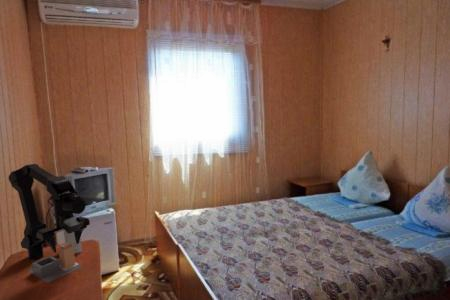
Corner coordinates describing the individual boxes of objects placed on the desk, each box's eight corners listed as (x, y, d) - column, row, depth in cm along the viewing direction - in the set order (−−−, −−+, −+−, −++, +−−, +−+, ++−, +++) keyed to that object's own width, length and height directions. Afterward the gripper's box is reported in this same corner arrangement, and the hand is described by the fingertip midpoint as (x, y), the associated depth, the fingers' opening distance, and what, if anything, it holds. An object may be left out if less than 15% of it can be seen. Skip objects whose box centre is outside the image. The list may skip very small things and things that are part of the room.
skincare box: (82, 253, 137) (79, 221, 136) (67, 257, 134) (64, 225, 132) (79, 247, 144) (76, 216, 142) (65, 250, 141) (62, 219, 139)
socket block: (27, 273, 122) (26, 261, 121) (63, 258, 133) (61, 247, 133) (47, 285, 113) (46, 272, 112) (83, 268, 124) (82, 256, 124)
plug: (60, 266, 124) (58, 246, 123) (70, 262, 128) (68, 242, 127) (65, 268, 122) (63, 248, 121) (75, 264, 125) (73, 244, 124)
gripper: (48, 221, 110) (52, 262, 112) (95, 207, 125) (99, 243, 127) (33, 216, 116) (38, 255, 118) (80, 203, 131) (84, 238, 133)
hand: (66, 247), depth 124 cm, fingers open, 9 cm apart
